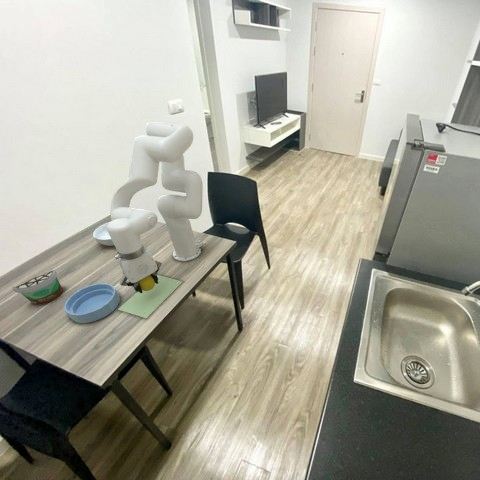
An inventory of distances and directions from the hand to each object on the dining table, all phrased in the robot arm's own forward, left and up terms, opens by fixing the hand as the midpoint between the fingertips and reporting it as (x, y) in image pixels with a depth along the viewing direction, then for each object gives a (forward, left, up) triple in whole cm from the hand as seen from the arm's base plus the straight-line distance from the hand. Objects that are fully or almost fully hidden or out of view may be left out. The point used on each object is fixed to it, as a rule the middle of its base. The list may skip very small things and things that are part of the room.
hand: (147, 286), depth 103 cm
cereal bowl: (-2, -48, -5) cm, 48 cm away
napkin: (0, 0, -5) cm, 5 cm away
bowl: (+17, -8, -5) cm, 19 cm away
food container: (+28, -24, -5) cm, 37 cm away
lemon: (0, 0, -2) cm, 2 cm away
